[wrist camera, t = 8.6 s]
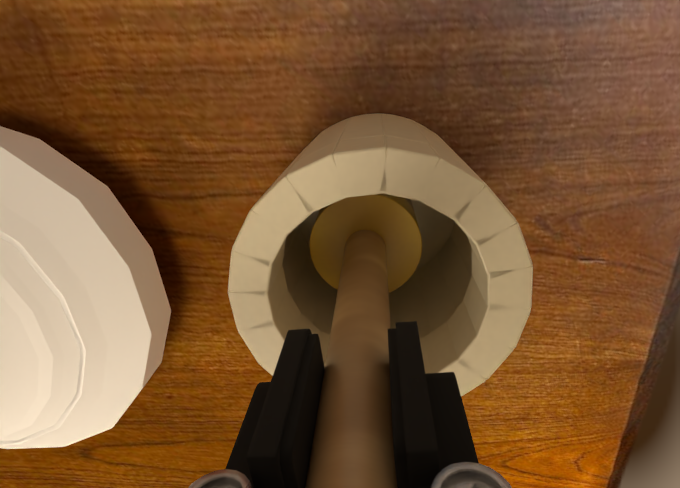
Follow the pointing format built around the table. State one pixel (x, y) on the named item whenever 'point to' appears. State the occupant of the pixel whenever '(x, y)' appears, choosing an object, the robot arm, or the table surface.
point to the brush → (360, 336)
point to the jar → (435, 263)
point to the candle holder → (70, 300)
